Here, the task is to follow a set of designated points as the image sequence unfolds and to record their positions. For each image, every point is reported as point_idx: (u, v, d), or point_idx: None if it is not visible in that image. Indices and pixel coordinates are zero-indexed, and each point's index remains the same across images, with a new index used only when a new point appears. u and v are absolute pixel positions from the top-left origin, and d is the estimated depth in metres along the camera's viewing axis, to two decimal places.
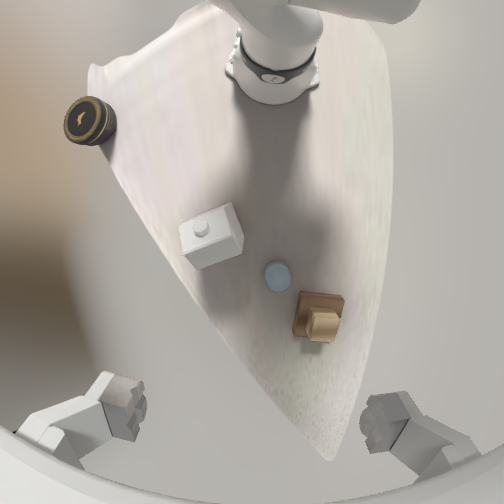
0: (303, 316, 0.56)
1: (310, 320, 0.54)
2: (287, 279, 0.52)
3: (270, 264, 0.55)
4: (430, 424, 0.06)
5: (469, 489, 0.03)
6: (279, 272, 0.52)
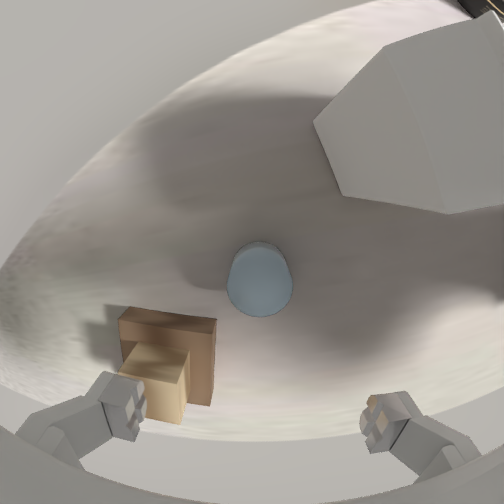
0: (166, 337, 0.24)
1: (162, 360, 0.22)
2: (262, 307, 0.21)
3: (282, 256, 0.24)
4: (430, 424, 0.06)
5: (469, 489, 0.03)
6: (280, 288, 0.21)
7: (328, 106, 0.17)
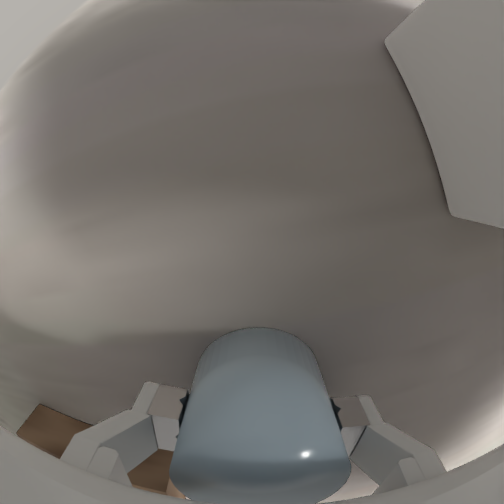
0: None
1: None
2: None
3: (317, 370, 0.09)
4: (390, 432, 0.06)
5: (469, 489, 0.03)
6: (316, 483, 0.05)
7: None
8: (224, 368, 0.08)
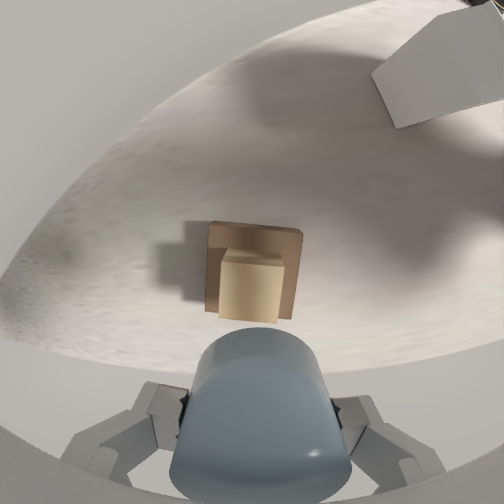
0: (258, 239, 0.27)
1: (260, 256, 0.25)
2: None
3: (318, 370, 0.09)
4: (390, 432, 0.06)
5: (469, 489, 0.03)
6: (317, 483, 0.05)
7: (390, 57, 0.20)
8: (224, 368, 0.08)
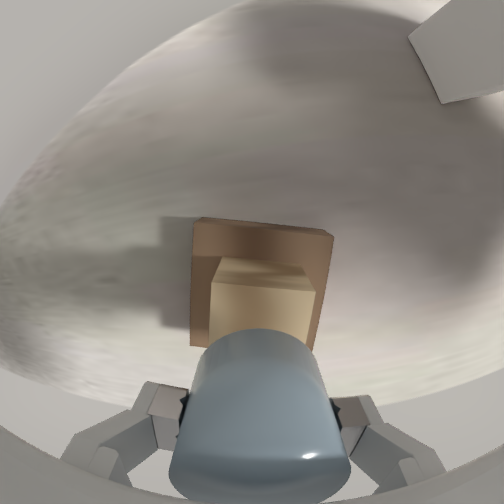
0: (268, 245, 0.18)
1: (273, 271, 0.16)
2: None
3: (317, 371, 0.09)
4: (390, 432, 0.06)
5: (469, 489, 0.03)
6: (316, 484, 0.05)
7: (438, 12, 0.11)
8: (224, 369, 0.08)
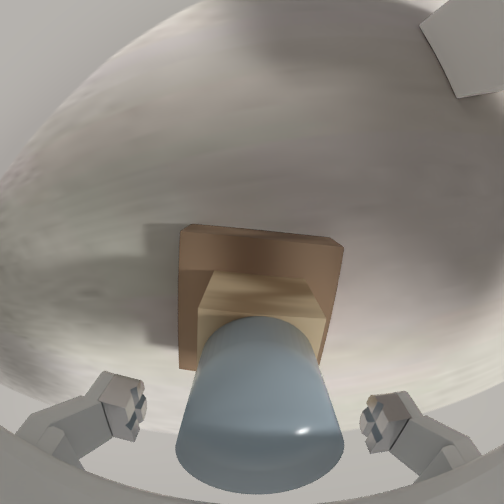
0: (267, 257, 0.15)
1: (273, 290, 0.13)
2: (265, 484, 0.07)
3: (312, 355, 0.10)
4: (430, 424, 0.06)
5: (469, 489, 0.03)
6: (312, 459, 0.06)
7: None
8: (227, 351, 0.09)
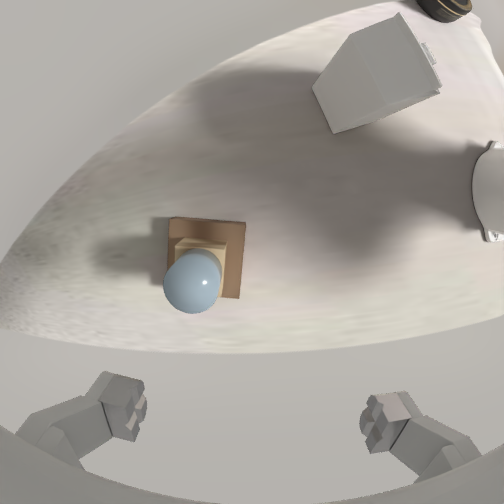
0: (209, 230, 0.33)
1: (208, 243, 0.31)
2: (193, 305, 0.24)
3: (216, 261, 0.27)
4: (430, 424, 0.06)
5: (469, 489, 0.03)
6: (207, 288, 0.24)
7: (322, 72, 0.26)
8: (183, 255, 0.26)
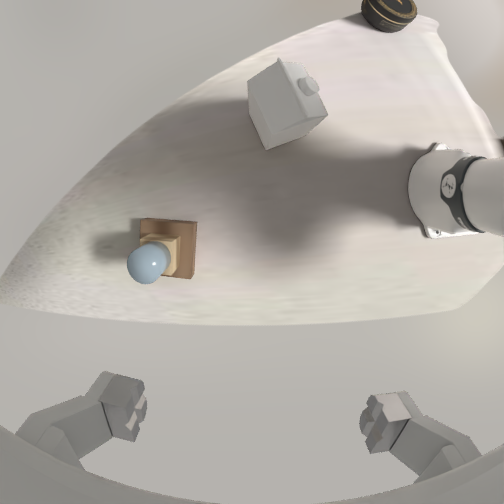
0: (167, 228, 0.44)
1: (164, 237, 0.42)
2: (145, 278, 0.35)
3: (164, 249, 0.38)
4: (430, 424, 0.06)
5: (469, 489, 0.03)
6: (154, 267, 0.35)
7: None
8: None
